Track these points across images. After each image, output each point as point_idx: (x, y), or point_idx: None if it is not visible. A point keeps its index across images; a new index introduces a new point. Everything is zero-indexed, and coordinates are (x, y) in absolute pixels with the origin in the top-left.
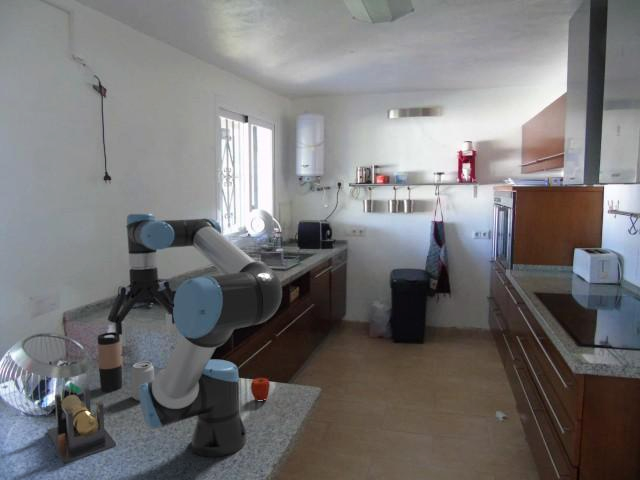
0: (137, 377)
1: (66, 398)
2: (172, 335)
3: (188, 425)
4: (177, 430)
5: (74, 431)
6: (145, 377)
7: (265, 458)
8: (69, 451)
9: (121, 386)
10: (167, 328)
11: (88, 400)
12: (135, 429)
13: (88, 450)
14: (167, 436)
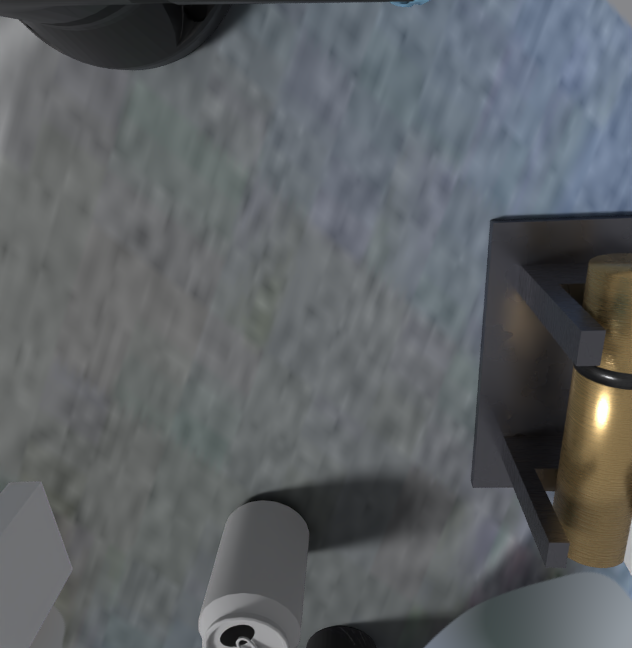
0: (286, 586)
1: (621, 552)
2: (11, 485)
3: (191, 192)
4: (245, 180)
5: None
6: (254, 571)
7: None
8: None
9: (311, 639)
10: (16, 616)
11: (539, 502)
12: (382, 303)
13: (597, 236)
14: (297, 157)
